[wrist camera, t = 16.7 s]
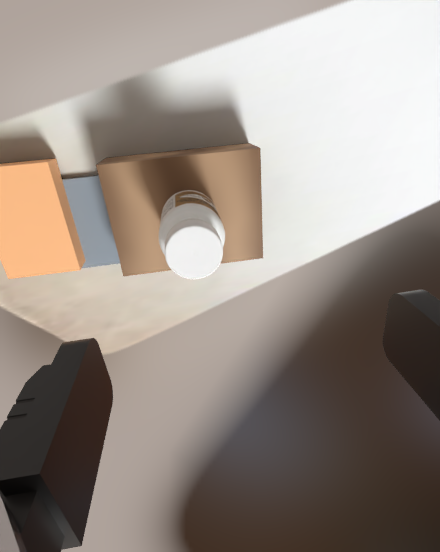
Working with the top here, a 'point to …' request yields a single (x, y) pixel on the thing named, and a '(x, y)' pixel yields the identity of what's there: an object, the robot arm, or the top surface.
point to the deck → (175, 178)
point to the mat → (91, 220)
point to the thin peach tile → (36, 221)
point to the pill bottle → (191, 235)
